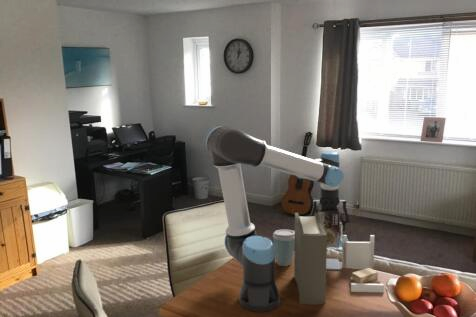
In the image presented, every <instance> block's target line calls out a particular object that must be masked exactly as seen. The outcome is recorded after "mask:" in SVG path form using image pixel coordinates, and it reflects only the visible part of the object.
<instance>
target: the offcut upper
mask: <svg viewBox="0 0 476 317" xmlns="http://www.w3.org/2000/svg"><path fill="white" fill-rule="evenodd" d="M351 277H352V280H354V281H356V282H357V283H366V282H369V281H372V280H375V279H378V277H379V272H378V270H375V269H374V268H373V269H371V268H366V269H359V270H357V271H354V272H352V273H351ZM378 280H379V279H378Z"/></svg>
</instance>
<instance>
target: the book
mask: <svg viewBox="0 0 476 317" xmlns="http://www.w3.org/2000/svg"><path fill="white" fill-rule="evenodd" d="M294 231H295V247H294V265H293V266H294V267H293V268H294V274H293V275H294V276H295V277H294V279H295V282H296V286H297V290H298V298H299V304H303V305H321V304H323V305H324V304H326V294H327V292H326V290H327V288H326V287H327V270H326V259H327V255H328V254H327V252H328V251H327V250H328V249H327V248H328V247H327V234H326V232H325V230H324V228H323V226H322V224H321V222H320V219H319V214H318V212H315V215H314V216H301V215H299V212H294Z"/></svg>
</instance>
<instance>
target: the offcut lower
mask: <svg viewBox="0 0 476 317" xmlns="http://www.w3.org/2000/svg"><path fill="white" fill-rule="evenodd" d="M351 283H357V282H356V281H354V280H352V276H350V277H349V284H350V285H351ZM366 283H371V284H381V282H380V280H379V279H375V280H372V281H369V282H366Z"/></svg>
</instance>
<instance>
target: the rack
mask: <svg viewBox="0 0 476 317" xmlns="http://www.w3.org/2000/svg"><path fill="white" fill-rule="evenodd" d="M341 240H342V252H341V269H342V268H352V269H351V270H363V269H366V268H371V269H373V270H374V261H375V260H374V259H375V258H374V257H375V234H370V235H369V241H348V235H347V234H342V239H341ZM384 289H385V285H384V283H380V284H371V283H351V284H350V291H351V292H352V293H384Z"/></svg>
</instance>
